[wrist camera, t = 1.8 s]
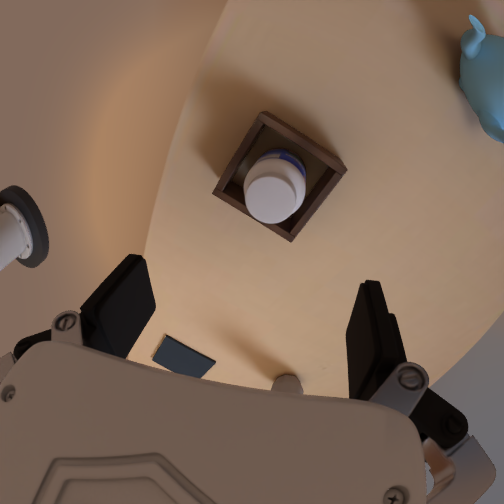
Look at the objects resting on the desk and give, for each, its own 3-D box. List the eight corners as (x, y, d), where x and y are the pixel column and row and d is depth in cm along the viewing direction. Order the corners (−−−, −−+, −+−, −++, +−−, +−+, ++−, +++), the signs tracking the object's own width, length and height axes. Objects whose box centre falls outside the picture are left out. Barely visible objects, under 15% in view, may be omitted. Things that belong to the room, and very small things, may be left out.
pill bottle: (313, 183, 30) (317, 218, 22) (269, 201, 32) (256, 241, 24) (292, 138, 28) (287, 155, 20) (247, 159, 30) (224, 184, 22)
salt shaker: (309, 377, 47) (305, 441, 36) (295, 391, 50) (289, 451, 39) (279, 368, 47) (270, 433, 36) (267, 383, 50) (256, 444, 39)
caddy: (221, 182, 32) (211, 193, 28) (266, 110, 27) (260, 111, 24) (292, 226, 33) (291, 243, 30) (342, 161, 28) (347, 169, 25)
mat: (152, 358, 52) (151, 360, 52) (166, 334, 47) (165, 336, 47) (195, 381, 54) (195, 383, 53) (216, 361, 49) (215, 363, 48)
